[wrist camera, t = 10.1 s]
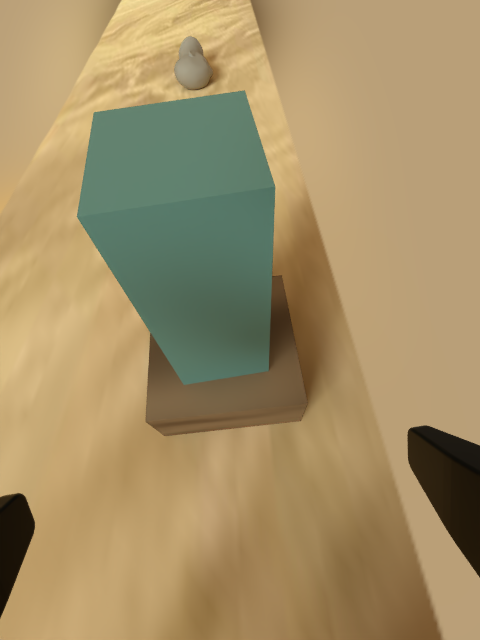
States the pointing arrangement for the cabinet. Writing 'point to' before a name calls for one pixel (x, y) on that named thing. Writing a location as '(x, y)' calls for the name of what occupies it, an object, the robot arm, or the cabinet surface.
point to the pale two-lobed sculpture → (192, 65)
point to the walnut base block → (231, 386)
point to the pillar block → (187, 227)
